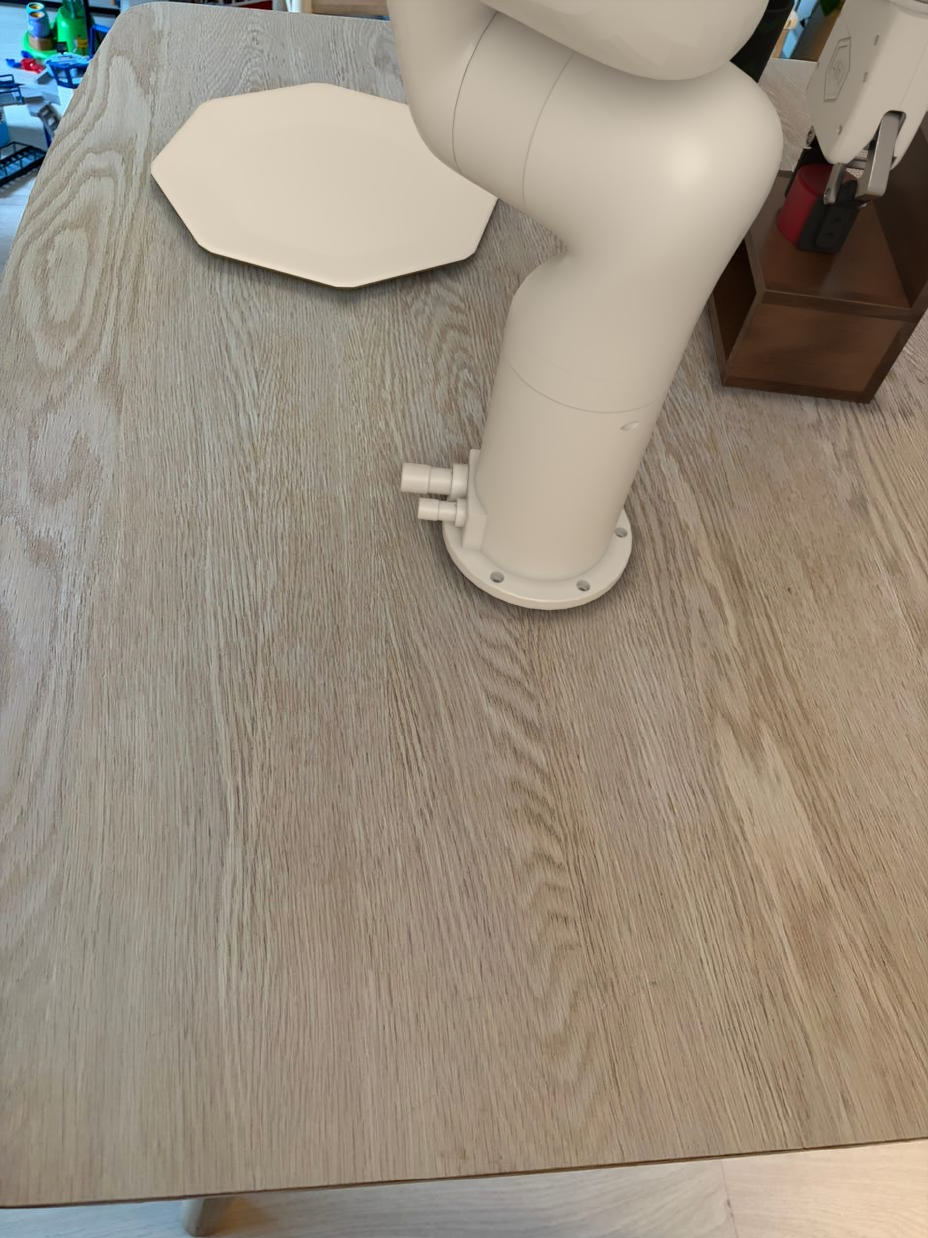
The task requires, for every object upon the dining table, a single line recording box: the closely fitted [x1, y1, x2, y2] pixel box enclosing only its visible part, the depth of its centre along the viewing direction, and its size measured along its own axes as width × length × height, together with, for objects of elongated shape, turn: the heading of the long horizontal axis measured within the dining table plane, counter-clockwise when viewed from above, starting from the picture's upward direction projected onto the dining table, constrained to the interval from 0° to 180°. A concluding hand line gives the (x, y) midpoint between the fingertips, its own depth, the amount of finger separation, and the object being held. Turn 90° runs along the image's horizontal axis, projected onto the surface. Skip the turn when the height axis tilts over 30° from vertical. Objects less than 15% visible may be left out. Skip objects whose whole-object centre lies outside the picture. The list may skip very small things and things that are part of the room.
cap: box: [777, 164, 858, 245], centre depth 76 cm, size 5×5×4 cm
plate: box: [150, 82, 499, 290], centre depth 87 cm, size 28×28×2 cm
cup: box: [729, 0, 796, 85], centre depth 98 cm, size 8×8×12 cm
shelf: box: [706, 110, 928, 405], centre depth 78 cm, size 12×16×16 cm
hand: (811, 222), depth 77 cm, fingers closed on cap, 5 cm apart
